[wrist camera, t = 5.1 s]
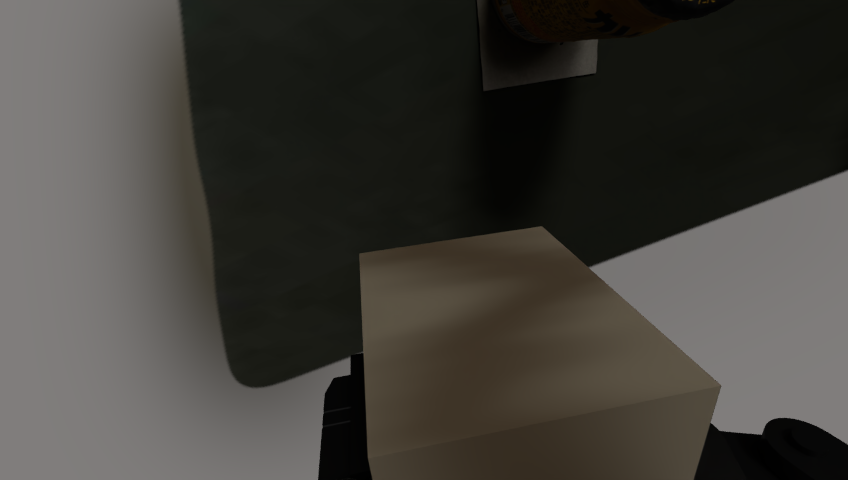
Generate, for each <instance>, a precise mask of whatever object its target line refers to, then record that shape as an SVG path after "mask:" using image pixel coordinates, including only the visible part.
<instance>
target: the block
mask: <svg viewBox="0 0 848 480" xmlns="http://www.w3.org/2000/svg"><path fill="white" fill-rule="evenodd" d="M359 255H360V279H361V304H362V328H363V352H364V376H365V400H366V424H367V448H368V461H369V466H370V470H371V475H372V480H694V476H695V473H696V470H697V466H698V463H699V459H700V456H701V453H702V449H703V446H704V443H705V439H706V436H707V432H708V429H709V426H710V422H711V419H712V415H713V412H714V409H715V405H716V402H717V398H718V395H719V392H720V388H721V385H720V384H719V383H718V382H717V381H716V380H714V379H713V378H712V377H711V376H710V375H709V374H708V373H707V372H705V371H704V370H703V369H702V368H701V367H700V366H699V365H698V364H696V363H695V362H694V361H693V360H692V359H691V358H690V357H689V356H687V355H686V354H685V353H684V352H683V351H682V350H680V348H678V347H677V346H676V345H675V344H674V343H672V341H671V340H669V339H668V338H667V337H666V336H665V335H664V334H662V333H661V332H660V331H659V330H658V329H657V328H656V327H655V326H654V325H652V324H651V323H650V322H649V321H648V320H647V319H646V318H644V317H643V316H642V315H641V314H640V313H639V312H638V311H637V310H636V309H634V308H633V307H632V306H631V305H630V304H629V303H628V302H626V301H625V300H624V299H623V298H622V297H621V296H620V295H619V294H618V293H616V292H615V291H614V290H613V289H612V288H610V287H609V286H608V285H607V284H606V283H605V282H604V281H603V280H602V279H601V278H599V277H598V276H597V275H596V274H595V273H594V272H592V271H591V270H590V269H589V268H588V267H587V266H586V265H585V264H584V263H583V262H581V261H580V260H579V259H578V258H577V257H576V256H575V255H574V254H572V253H571V252H570V251H569V250H568V249H567V248H566V247H565V246H563V245H562V244H561V243H560V242H559V241H558V240H557V239H556V238H554V237H553V236H552V235H551V234H550V233H549V232H548V231H546V230H545V229H544V228H543V227H542V226H541V227H534V228H528V229H521V230H514V231H508V232H501V233H494V234H488V235H481V236H474V237H468V238H461V239H454V240H448V241H441V242H434V243H427V244H421V245H414V246H407V247H401V248H394V249H387V250H381V251H374V252H367V253H361V254H359Z"/></svg>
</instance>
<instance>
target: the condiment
mask: <svg viewBox="0 0 848 480" xmlns="http://www.w3.org/2000/svg"><path fill="white" fill-rule="evenodd" d="M733 1H734V0H477V7H478V19H479V29H480V51H481V63H482V72H483V90H484V91H488V90H494V89H499V88H505V87H511V86H517V85H524V84H529V83H536V82H542V81H547V80H554V79H560V78H567V77H573V76H580V75H586V74H593V73H596V64H597V43H598V39H609V38H621V37H626V38H630V37H636V36H640V35H643V34H647V33H651V32H653V31H656V30H658V29H660V28H662V27H663V26H666V25H668V24H669V23H672V22H676V21H679V20H688V19H691V18H699V17H703V16H706V15H708V14H709V13H712V12H715V11H717V10H719V9H720V8H722V7H724V6H726V5H728V4H730V3H732V2H733ZM499 29H501V32H500V33H499V31H498V30H499ZM561 42H564V43H563V45H560V43H561Z"/></svg>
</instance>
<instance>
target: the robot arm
mask: <svg viewBox="0 0 848 480" xmlns="http://www.w3.org/2000/svg"><path fill="white" fill-rule="evenodd" d="M322 425H323V428H322V439H321V451H320V463H319V477H318V480H372V475H371V470H370V466H369V461H368V448H367V424H366V400H365V376H364V353H361V354H355V355H351V375H348V376H342V377H337V378H334V379H333V380H332V382H331V384H330V386H329V387H328V389H327V391H326V393H325V399H324V414H323V424H322ZM694 480H848V445H847V444H845V443H844V442H842V441H841V440H839V439H837V438H836V437H834V436H833V435H831V434H829V433H828V432H826V431H824V430H823V429H821V428H819V427H817V426H814V425H812V424H809V423H807V422H804V421H800V420H796V419H790V418H777V419H773V420H771V421H769V422H768V423H767V424H766V426H765V428H764V431H763V433H762V435H757V434H746V433H734V432H724V431H719V430H718V429H717V428H716V427H715V426H714V425H713V424H711V423H710V426H709V429H708V432H707V436H706V439H705V443H704V446H703V449H702V453H701V456H700V459H699V463H698V466H697V470H696V473H695V476H694Z"/></svg>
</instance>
